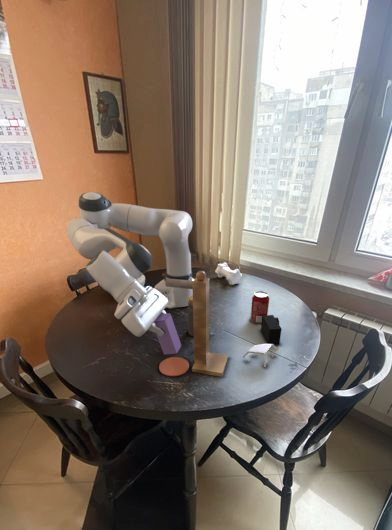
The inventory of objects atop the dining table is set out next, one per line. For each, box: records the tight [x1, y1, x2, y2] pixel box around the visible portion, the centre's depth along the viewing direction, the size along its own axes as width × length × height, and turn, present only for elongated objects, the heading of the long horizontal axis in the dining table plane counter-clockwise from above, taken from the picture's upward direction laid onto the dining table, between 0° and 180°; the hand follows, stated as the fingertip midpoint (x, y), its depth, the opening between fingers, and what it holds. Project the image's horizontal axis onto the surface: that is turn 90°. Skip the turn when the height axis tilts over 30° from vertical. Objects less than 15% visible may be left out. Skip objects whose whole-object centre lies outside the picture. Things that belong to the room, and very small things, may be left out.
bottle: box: [186, 295, 194, 337], centre depth 115 cm, size 6×6×15 cm
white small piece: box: [242, 343, 279, 368], centre depth 101 cm, size 12×8×5 cm
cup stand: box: [165, 270, 229, 378], centre depth 93 cm, size 18×10×33 cm, turn 74°
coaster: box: [158, 356, 190, 378], centre depth 100 cm, size 10×10×1 cm
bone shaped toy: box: [214, 261, 243, 286], centre depth 161 cm, size 15×9×8 cm, turn 27°
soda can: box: [249, 290, 270, 324], centre depth 123 cm, size 7×7×12 cm
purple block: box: [154, 312, 182, 356], centre depth 94 cm, size 12×5×5 cm
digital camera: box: [260, 314, 283, 346], centre depth 113 cm, size 10×5×7 cm, turn 5°
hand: (166, 329), depth 93 cm, fingers closed on purple block, 4 cm apart
